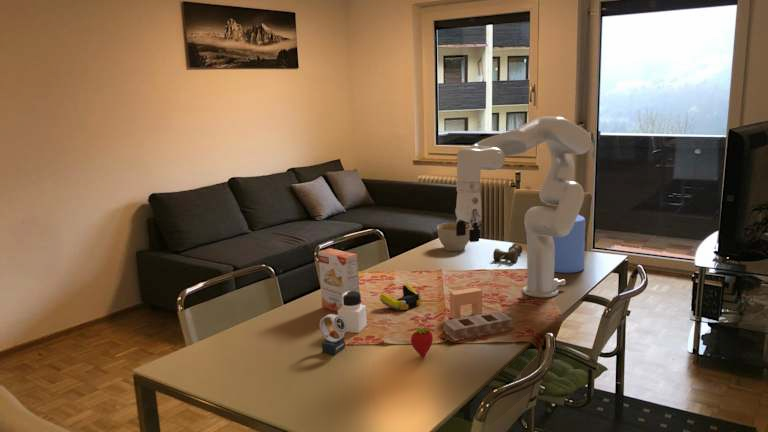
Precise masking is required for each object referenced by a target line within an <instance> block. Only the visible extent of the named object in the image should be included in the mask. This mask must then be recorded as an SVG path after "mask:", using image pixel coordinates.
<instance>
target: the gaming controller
mask: <svg viewBox="0 0 768 432" xmlns="http://www.w3.org/2000/svg"><path fill="white" fill-rule="evenodd" d="M379 300H380V302H381V303H382V304H383V305H385V306H387V307H389V308H391V309H395V311H396V312H398V311H399V312H401V311H406V310H410V309H412V308H414V307H417V306H419V305H420V304H421V302H422V294H421V293H419V292H417V291H416V289H414V288H413V286H411V285H409V284H404V285H402V297H399V298H397V299H396V298H394V297H392V296H391V295H389V294H387V293H385V292H382V293H380V296H379Z"/></svg>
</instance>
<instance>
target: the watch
mask: <svg viewBox="0 0 768 432" xmlns="http://www.w3.org/2000/svg"><path fill="white" fill-rule="evenodd" d="M326 318H327V319H328V318H329V320H330V323H331V326H332V329H333V330H334V332H335V333H337V335H338V336H335V335H330V332H329V330H328V328H327V325H326V324H325V323H326V322H325V320H326ZM319 331H320V333H321V335H322V337H323V338H324V339H326V340H324V341H323V342H321V350H322V351H321V352H322V354H327V355H331V356H336V355H337V354H339V353H340V352H341V351H343V350H344V349H346V346H345V345H346V344H345V343H346V342H345V338H344V337H345V335H346V333H347V332H346V323H345V321H344V319H343V318H342V317H340V316H338V314H335V313H328V314H327V315H325V316H324V317H322V318H321V319H320V321H319Z"/></svg>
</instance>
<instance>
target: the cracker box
mask: <svg viewBox="0 0 768 432" xmlns="http://www.w3.org/2000/svg"><path fill="white" fill-rule="evenodd" d="M317 253H318V266H319V278H320V280H319V281H320V292H321V294H320V295H321V307H322V308H323V309H326V310H327V309H328V310H330V311H333V312H336V313H338V310H339V309H340V308H341V307H342V294H343V293H345V292H348V291H356V292H359V293H360V281H359V278H360V277H359V262H358V258H359V257H358V254H357V253H353V252H347V251H343V250H339V249H335V248H331V247H329V248H326V249H322V250H319V251H318V252H317Z"/></svg>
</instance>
